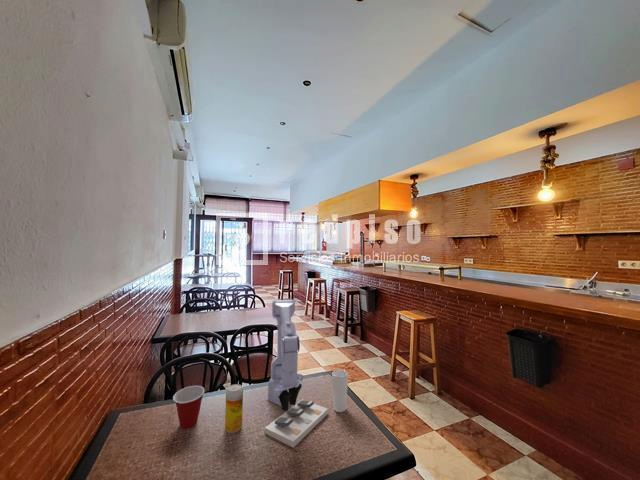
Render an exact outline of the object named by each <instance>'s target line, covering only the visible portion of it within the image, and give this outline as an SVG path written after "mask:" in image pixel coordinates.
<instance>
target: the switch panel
mask: <svg viewBox="0 0 640 480" xmlns="http://www.w3.org/2000/svg"><path fill="white" fill-rule="evenodd" d="M301 400H304V399H300V400H299V401H298V402H296V404H295V405H292V406H291V407H290V408H288V411H289V410H290V409H291V408H295V409H303V410H304V413H303V414H302V415H300V416H292V415H287V412H286V411H284V413H283V414H281V415H279V416H278V417H277V418H276V419H274V420H273V421H272V422H271V423H269V424H268V425H266V426H265V428H264V434H266V435H267V436H269V437H270V438H272V439H273V438H274V439H275V440H278V441H279V442H281V443H283V444H285V445H288V446H289V447H292V448H295V447H296V446H297V445H298V444H299V443H300V442H301V441H302V440H303V439H304V438H305V437H306V436H307V435H308V434H309V433H310V432H311V431H312V430H313V429H314V428H315V427H316V426H317V425H318V424H319V423H320V422H321V421H322V420H323V419H324V418H325V417H326V416H327V415H328V414H329V409H328V408H327V407H324V406H322V405H319V404H317V403H314V404H313V405H312V406H311V407H310V408H308V407H300V406H298V403H299V402H300V401H301ZM280 417H284V418H290V419H293V422H292V423H291V424H290V425H289V426H288V427H287V426H282V425H276V424H275V421H276V420H277V419H278V418H280Z"/></svg>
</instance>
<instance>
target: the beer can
mask: <svg viewBox="0 0 640 480" xmlns="http://www.w3.org/2000/svg"><path fill="white" fill-rule="evenodd" d="M243 388H244V387H243V386H242V385H241V384H239V383H235V384H231V385H229V386H227V389H226V391H225V410H224V411H225V415H224V417H225V418H224V430H225V431H226V432H227V433H228V434H235V433H237V432H240V431H241V428H242V427H243V412H244V411H243V408H244V407H243V406H244V405H243V404H244V402H243V401H244V389H243Z"/></svg>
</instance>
